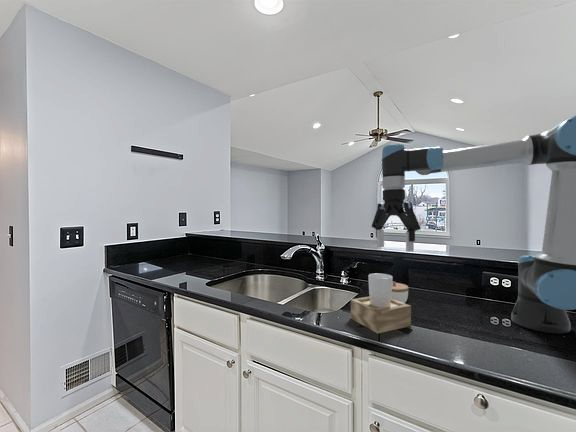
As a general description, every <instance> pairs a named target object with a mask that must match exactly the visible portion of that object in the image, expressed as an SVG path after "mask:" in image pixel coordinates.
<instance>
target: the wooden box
mask: <svg viewBox="0 0 576 432" xmlns="http://www.w3.org/2000/svg"><path fill="white" fill-rule="evenodd" d="M350 319H351V320H353V321H355V322H357V324H360V325H362V326H364V327H365V328H367V329H369V330H371V331H372V332H375V334H382V333H386V332H389V331H395V330H399V329H403V328H408V327H411V326H412V305H410V304H407V303H406V302H405V303H402V302H400V301H397V300H395V299H392V298H391V304H390V307H387V308H378V307H374V306H372V305H371V304H370V296H364V297H358V298H351V299H350Z"/></svg>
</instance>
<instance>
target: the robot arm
mask: <svg viewBox="0 0 576 432" xmlns="http://www.w3.org/2000/svg"><path fill="white" fill-rule="evenodd" d="M381 155H382V156H381V171H382V173H381V177H382V178H381V179H382V183H381V185H382V189H383V190H382V201H384V203H383V202H381V203H380V202H378V203H377V206H376V207H377V209H376V211H375V212H376V213H375V214H374V219H373V221H372V222H371V223H372V224H371V228H373V229H374V230H375V237H376V247H377V248H384V247H385V229H384V226H385V225H386V223H387V221H388V220H389V218H390V217H391V216H396V217H398V218H399V220H400V221H401V223H402V224H403V226H404V227H405V229H406V232H405V252H408V253H409V252H414V251H415V250H414V246H415V244H414V242H415V241H416V232H417V231H421V226H420V223H419V221H418V218H417V216H416V214H415V211H414V209H413V203H412V202H411V201H407V202H405V201H404V200H406V189H404V188H405V186H406V180H405V179H406V175H405V173H406V172H416V173H417V174H418V175H421V176H427V175H431V174H436V173H437V174H438V173H442V172H443V173H444V172H453V171H462V170H468V169H469V170H470V169H478V168H479V169H480V168H486V167H487V168H488V167H497V166H504V165H505V166H506V165H513V164H525V165H527V166H530V165H531V166H533V165H542V164H543V165H544V164H545V165H546V167H547V168H548V169H549V170H551V178H550V186H549V193H548V201H547V208H546V209H547V210H546V215H545V216H546V218H545V225H544V234H543V241H542V247H541V248H542V249H541V251H540V252H539V253H538V254H536V255H521V256H520V257H519V258H518V263H517V266H518V267H517V268H518V275H517V279H518V280H517V281H518V283H517V286H518V287H517V291H518V292H517V300H516V301H515V305H514V307H513V309H512V311H511V322H513V323H514V324H516V325H517V326H521V327H523V328H526V329H530V330H533V331H537V332H541V333H546V334H547V333H549V334H567V333H571V329H572V328H571V327H572V324H571V321H570V318H569V316H568V314H567V311H570V310H571V311H572V310H576V115H573V116H570V117H568V118H566V119H564V120H562V121H561V122H560V123H559V124H558V125H556V126H554V127H553V128H551V129H548V130H546V131H544V132H541V133H540V132H539V133H537V134H531V135H526V136H525V137H524V138H523V139H520V140H514V141H513V140H511V141H504V142H498V143H492V144H486V145H485V144H484V145H477V146H469V147H464V148H456V149H450V150H444V149H443V148H442V147H441V146H429V147H420V148H412V149H406V148H405V145H404V144H402V143H392V144H387V145H385V146H383V148H382V153H381Z"/></svg>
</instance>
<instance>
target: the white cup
mask: <svg viewBox="0 0 576 432" xmlns="http://www.w3.org/2000/svg"><path fill="white" fill-rule="evenodd" d="M392 283H393V275H391V274H387V273H379V272H378V273H377V272H376V273H369V274H368V294H369V296H370V304H371V305H372V306H374V307H378V308H387V307H390V304H391V295H392ZM369 296H368V297H369Z"/></svg>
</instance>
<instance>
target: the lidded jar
mask: <svg viewBox="0 0 576 432" xmlns="http://www.w3.org/2000/svg"><path fill="white" fill-rule="evenodd" d="M408 297H409V286H408V285H407V284H405V283H400V282H396V281H393V280H392V295H391V298H392V299H395V300H397V301H400V302H402V303H405V304H406V302H407V300H408V299H409V298H408Z"/></svg>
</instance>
